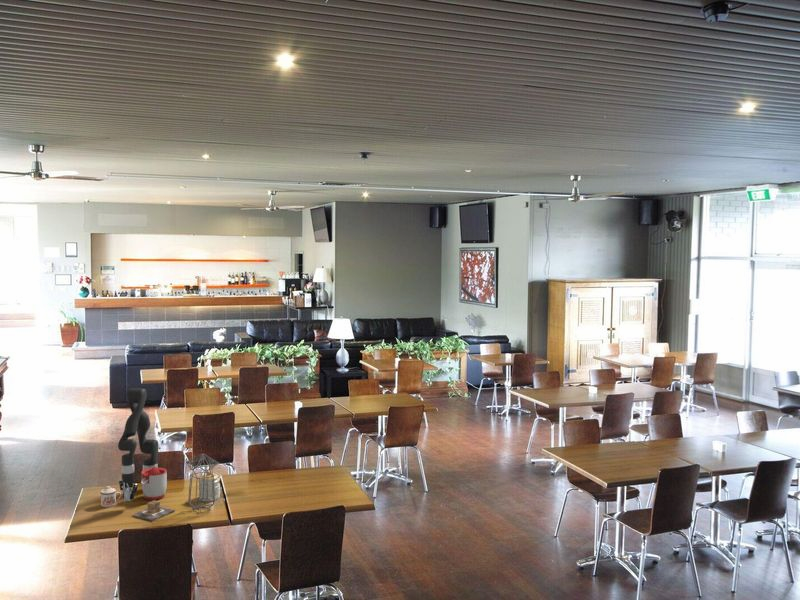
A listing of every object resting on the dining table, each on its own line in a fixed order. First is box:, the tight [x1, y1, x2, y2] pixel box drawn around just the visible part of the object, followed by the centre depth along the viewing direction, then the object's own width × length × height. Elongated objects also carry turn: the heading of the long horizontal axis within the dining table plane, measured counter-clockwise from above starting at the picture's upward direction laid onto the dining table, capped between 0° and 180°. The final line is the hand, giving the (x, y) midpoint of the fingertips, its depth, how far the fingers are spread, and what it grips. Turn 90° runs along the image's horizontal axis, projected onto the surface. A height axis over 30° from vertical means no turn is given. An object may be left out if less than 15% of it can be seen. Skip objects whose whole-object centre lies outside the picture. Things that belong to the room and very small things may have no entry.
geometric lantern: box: [185, 453, 220, 514], centre depth 446 cm, size 16×16×35 cm
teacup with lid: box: [100, 485, 122, 508], centre depth 453 cm, size 12×9×12 cm
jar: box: [199, 470, 221, 502], centre depth 467 cm, size 13×13×18 cm
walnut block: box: [146, 500, 161, 514], centre depth 439 cm, size 5×5×6 cm
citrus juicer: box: [140, 467, 168, 501], centre depth 466 cm, size 16×17×20 cm
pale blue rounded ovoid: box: [123, 488, 134, 502], centre depth 446 cm, size 5×5×6 cm
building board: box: [131, 506, 176, 522], centre depth 439 cm, size 18×16×2 cm
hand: (128, 498), depth 446 cm, fingers closed on pale blue rounded ovoid, 5 cm apart
